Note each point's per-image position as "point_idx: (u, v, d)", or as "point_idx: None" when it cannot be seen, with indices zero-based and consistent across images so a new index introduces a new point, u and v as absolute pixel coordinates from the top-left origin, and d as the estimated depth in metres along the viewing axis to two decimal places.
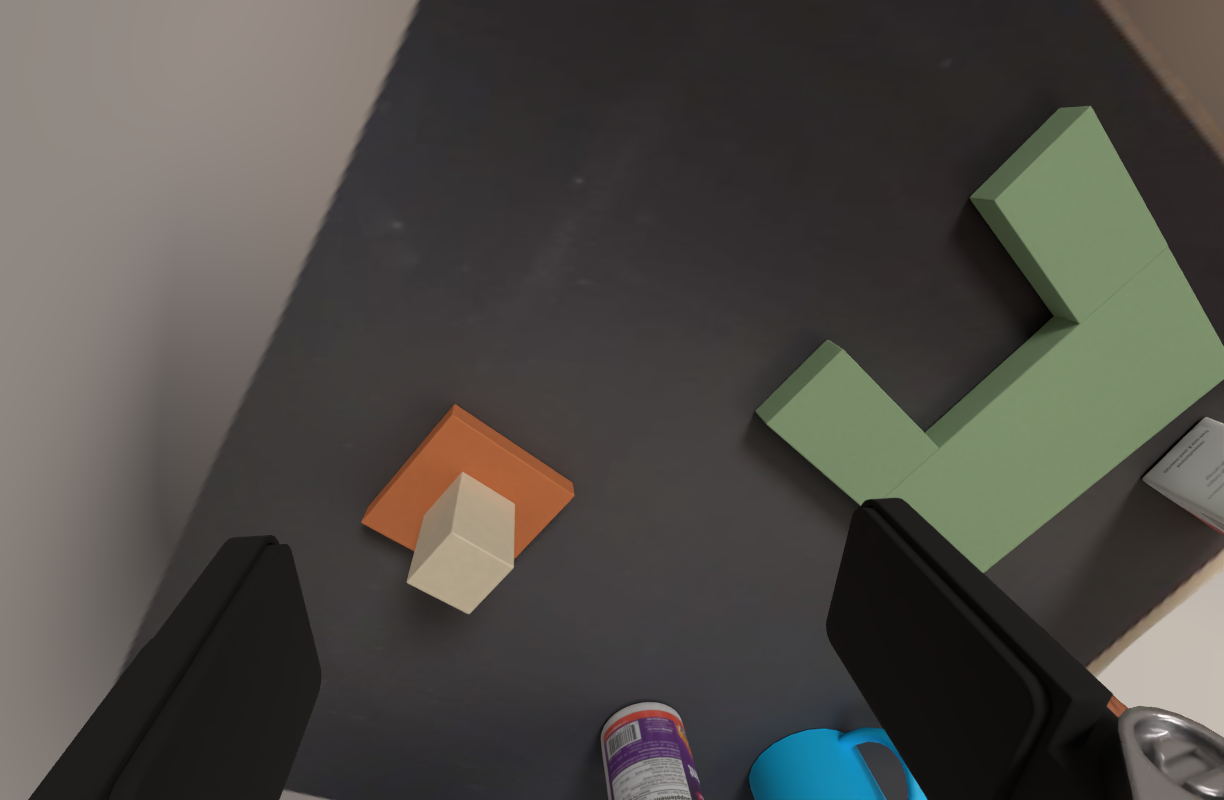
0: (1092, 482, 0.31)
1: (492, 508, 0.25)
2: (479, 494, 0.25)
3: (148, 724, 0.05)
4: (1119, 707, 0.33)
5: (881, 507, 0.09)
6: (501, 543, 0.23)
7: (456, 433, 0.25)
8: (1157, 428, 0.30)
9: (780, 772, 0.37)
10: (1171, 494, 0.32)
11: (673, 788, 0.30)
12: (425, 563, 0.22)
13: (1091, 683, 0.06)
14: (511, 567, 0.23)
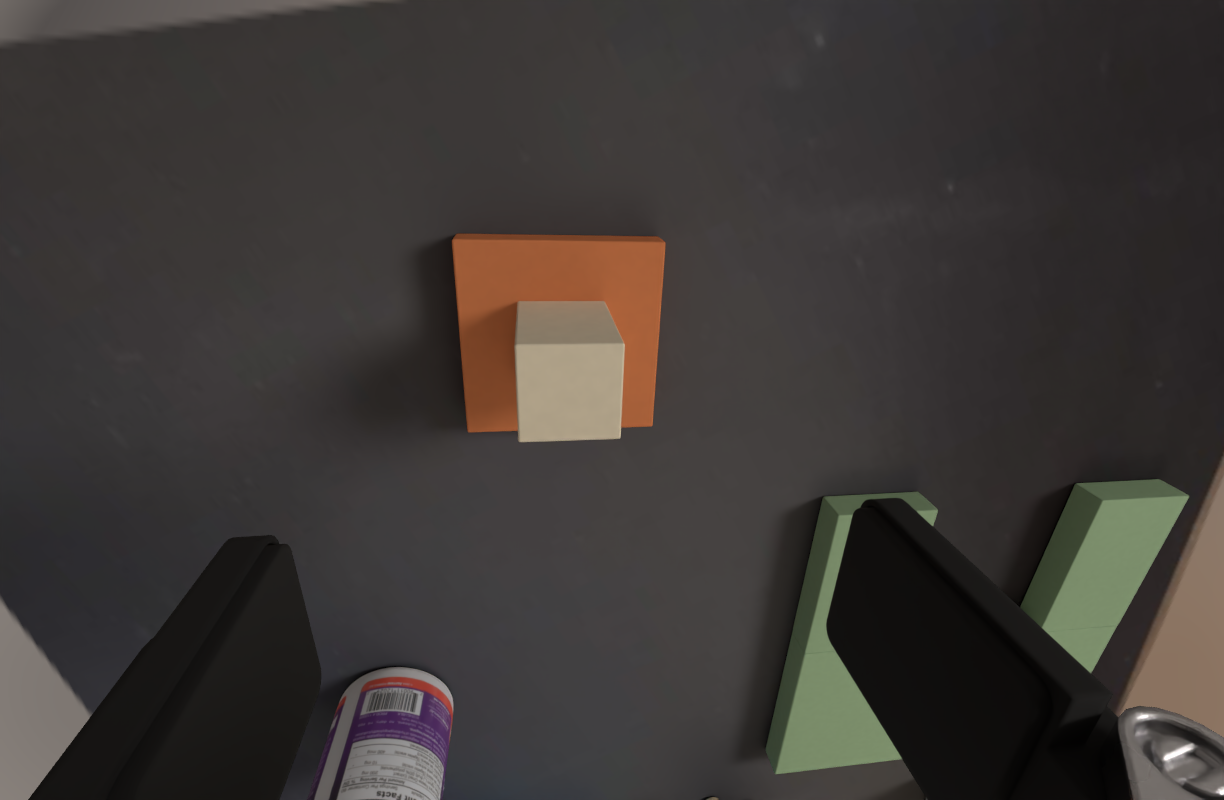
0: None
1: None
2: None
3: (148, 725, 0.05)
4: None
5: (881, 507, 0.09)
6: None
7: (646, 262, 0.19)
8: None
9: None
10: None
11: (429, 796, 0.23)
12: (559, 346, 0.15)
13: (1092, 683, 0.06)
14: (619, 436, 0.17)
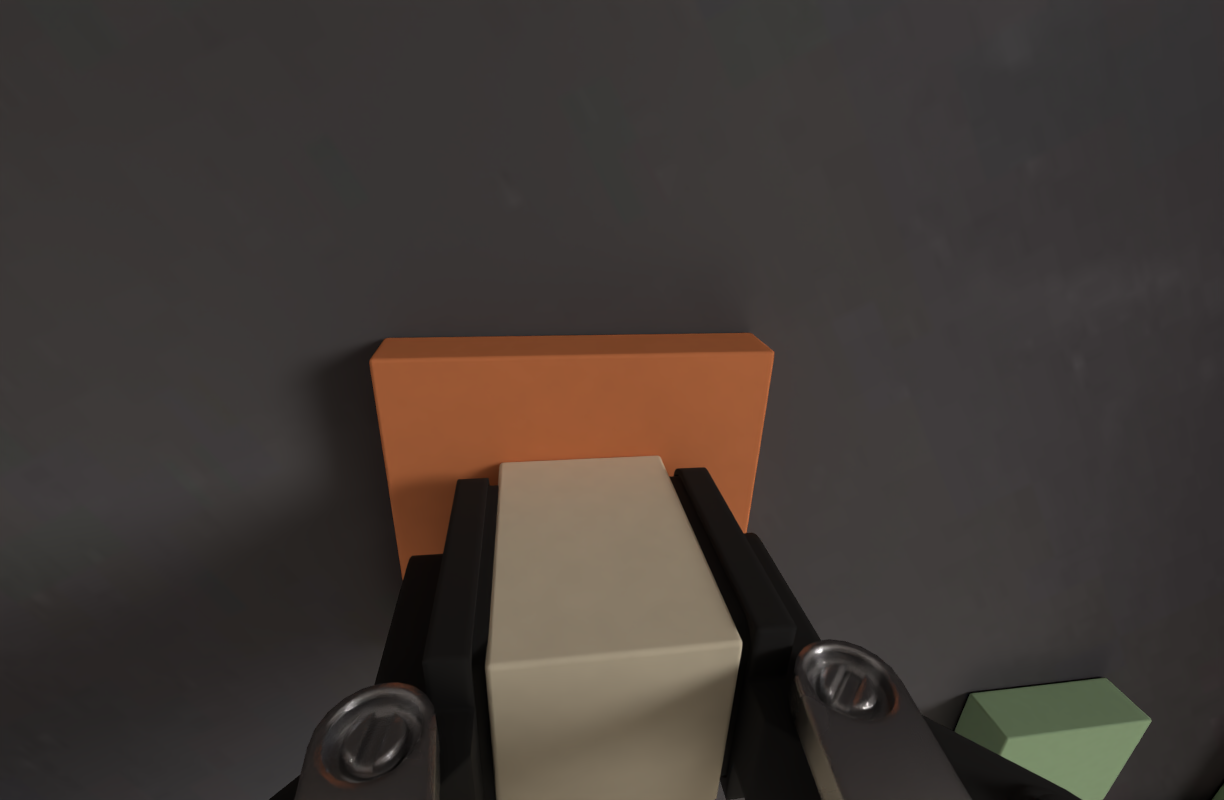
0: None
1: None
2: None
3: (475, 602, 0.07)
4: None
5: (681, 475, 0.10)
6: None
7: (738, 387, 0.10)
8: None
9: None
10: None
11: None
12: (593, 661, 0.06)
13: (785, 619, 0.07)
14: (714, 796, 0.08)
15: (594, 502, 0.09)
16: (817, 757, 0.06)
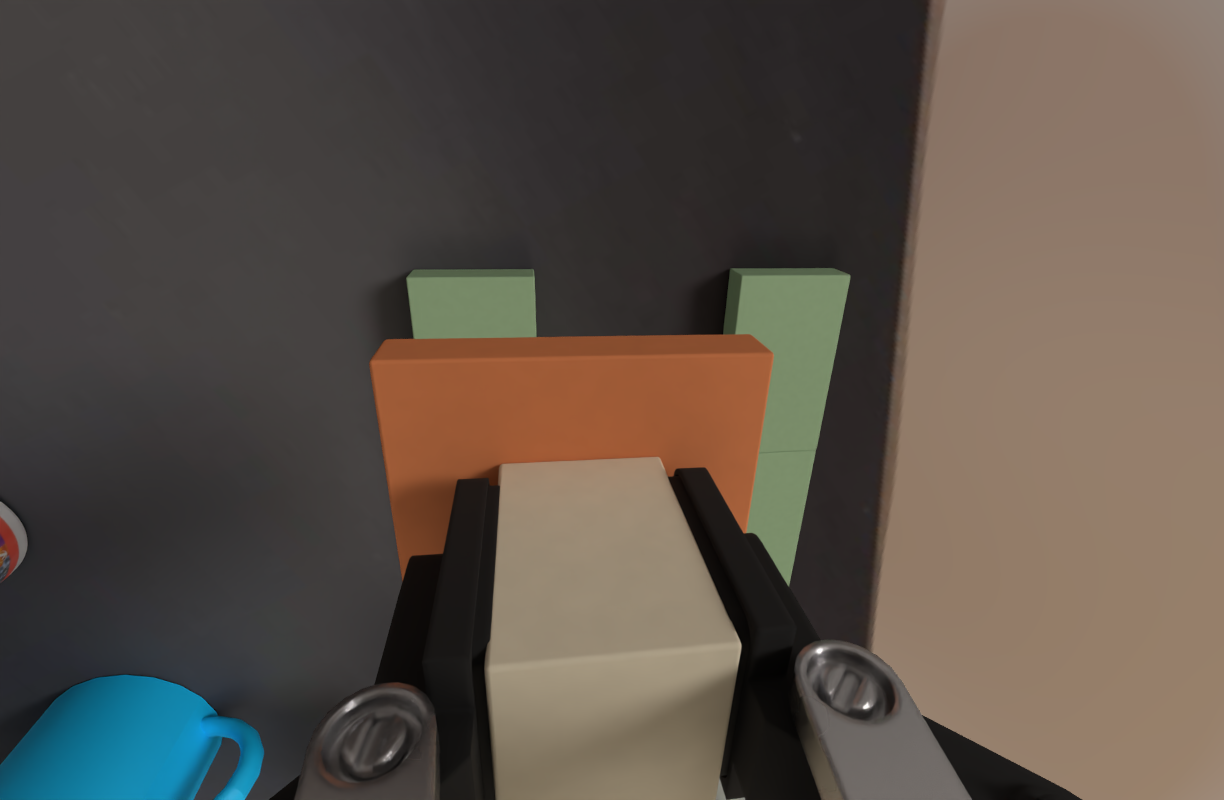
0: None
1: None
2: None
3: (476, 602, 0.07)
4: None
5: (681, 475, 0.10)
6: None
7: (737, 389, 0.10)
8: None
9: (93, 706, 0.27)
10: None
11: None
12: (592, 662, 0.06)
13: (784, 618, 0.07)
14: (713, 798, 0.08)
15: (594, 503, 0.09)
16: (817, 757, 0.06)
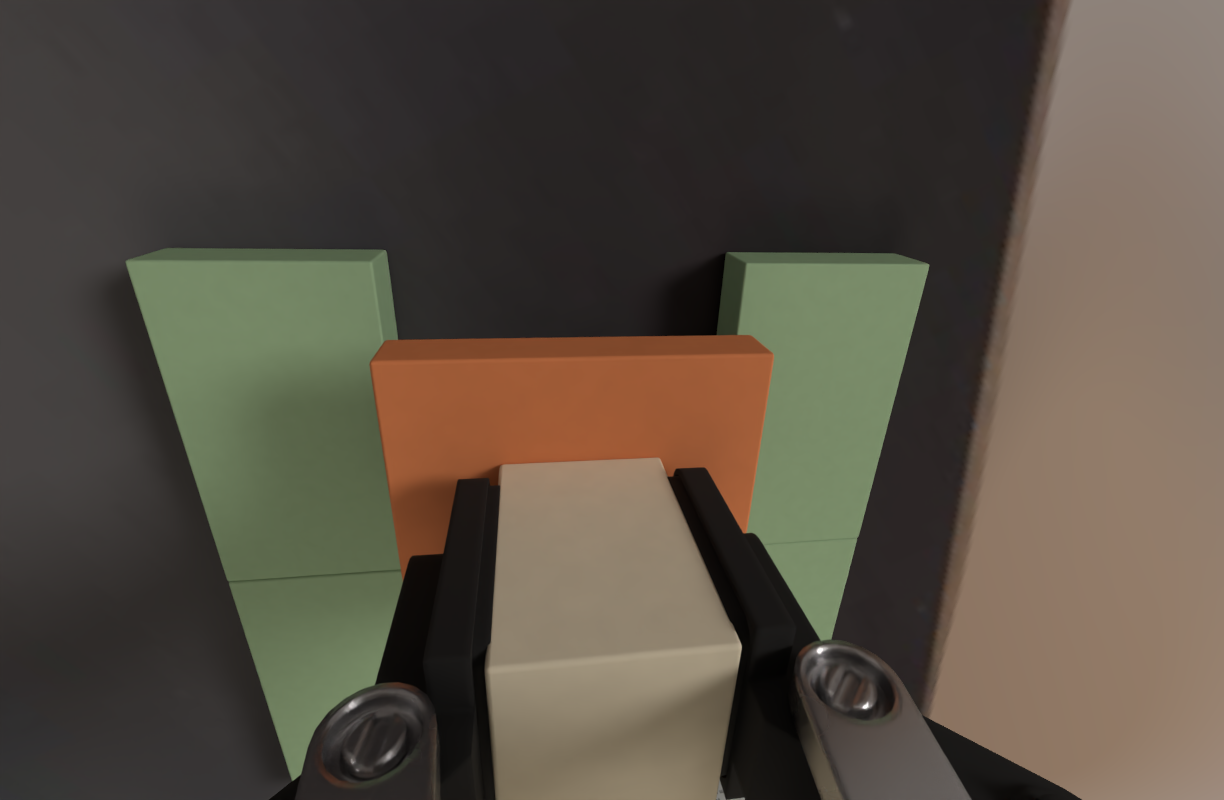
0: None
1: None
2: None
3: (476, 602, 0.07)
4: None
5: (681, 475, 0.10)
6: None
7: (738, 390, 0.10)
8: None
9: None
10: None
11: None
12: (592, 664, 0.06)
13: (783, 618, 0.07)
14: (714, 799, 0.08)
15: (594, 504, 0.09)
16: (817, 757, 0.06)
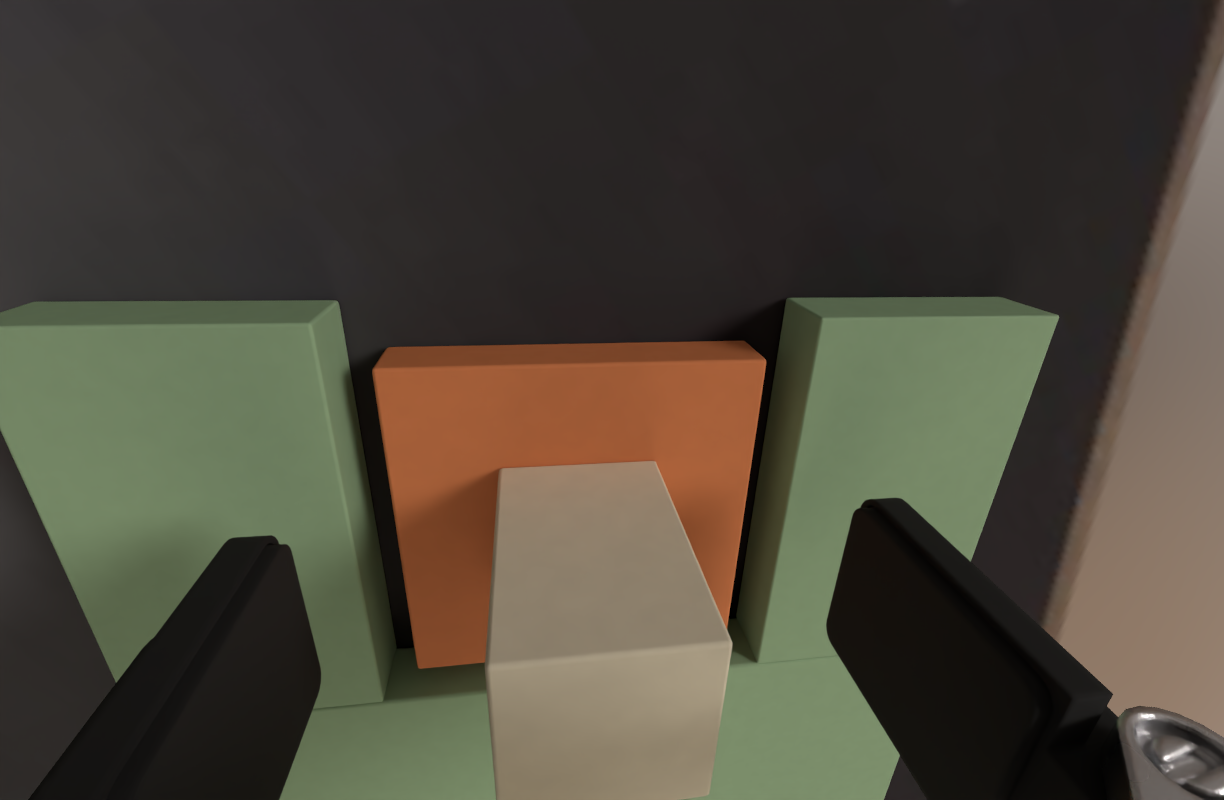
0: None
1: None
2: None
3: (148, 724, 0.05)
4: None
5: (881, 507, 0.09)
6: None
7: (731, 394, 0.11)
8: None
9: None
10: None
11: None
12: (588, 661, 0.07)
13: (1092, 682, 0.06)
14: (707, 792, 0.08)
15: (591, 507, 0.09)
16: None
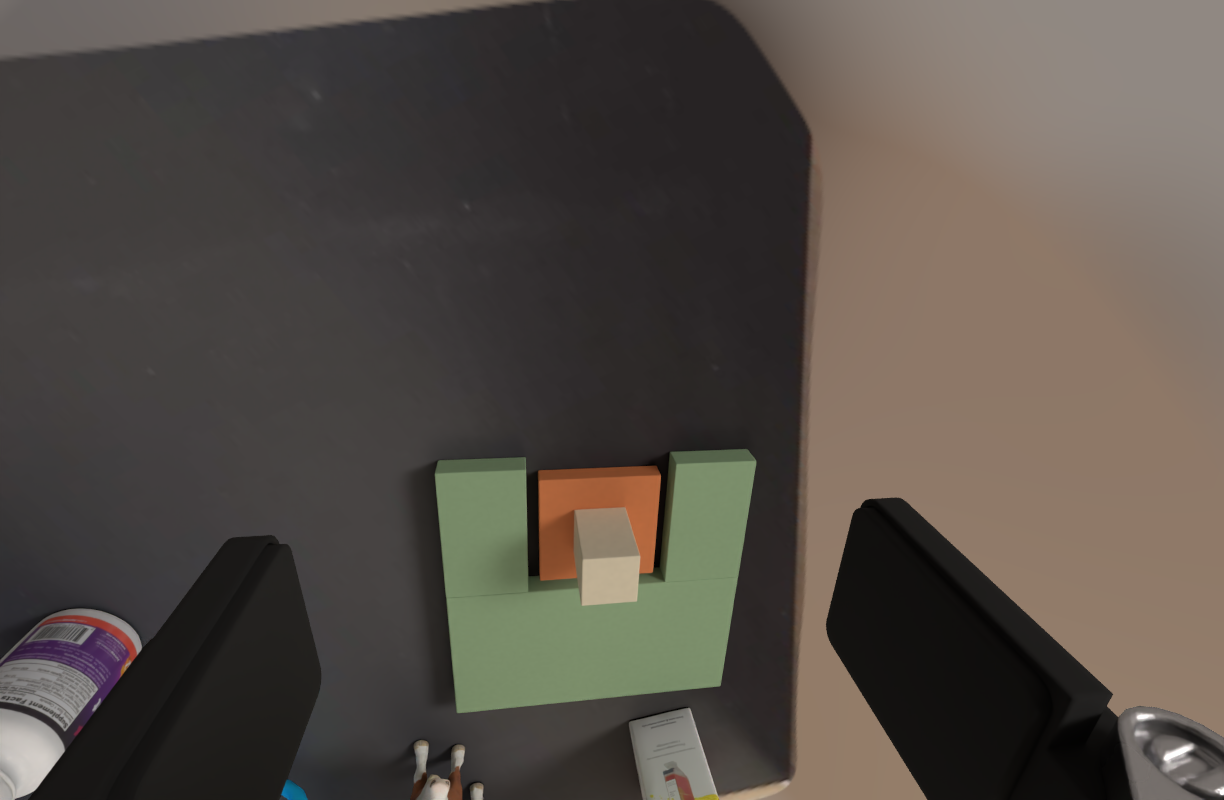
0: (597, 697, 0.38)
1: None
2: None
3: (147, 724, 0.05)
4: None
5: (881, 507, 0.09)
6: None
7: (649, 486, 0.33)
8: (657, 689, 0.39)
9: None
10: (633, 743, 0.40)
11: (61, 705, 0.27)
12: (605, 559, 0.29)
13: (1092, 683, 0.06)
14: (636, 600, 0.30)
15: (604, 522, 0.31)
16: None
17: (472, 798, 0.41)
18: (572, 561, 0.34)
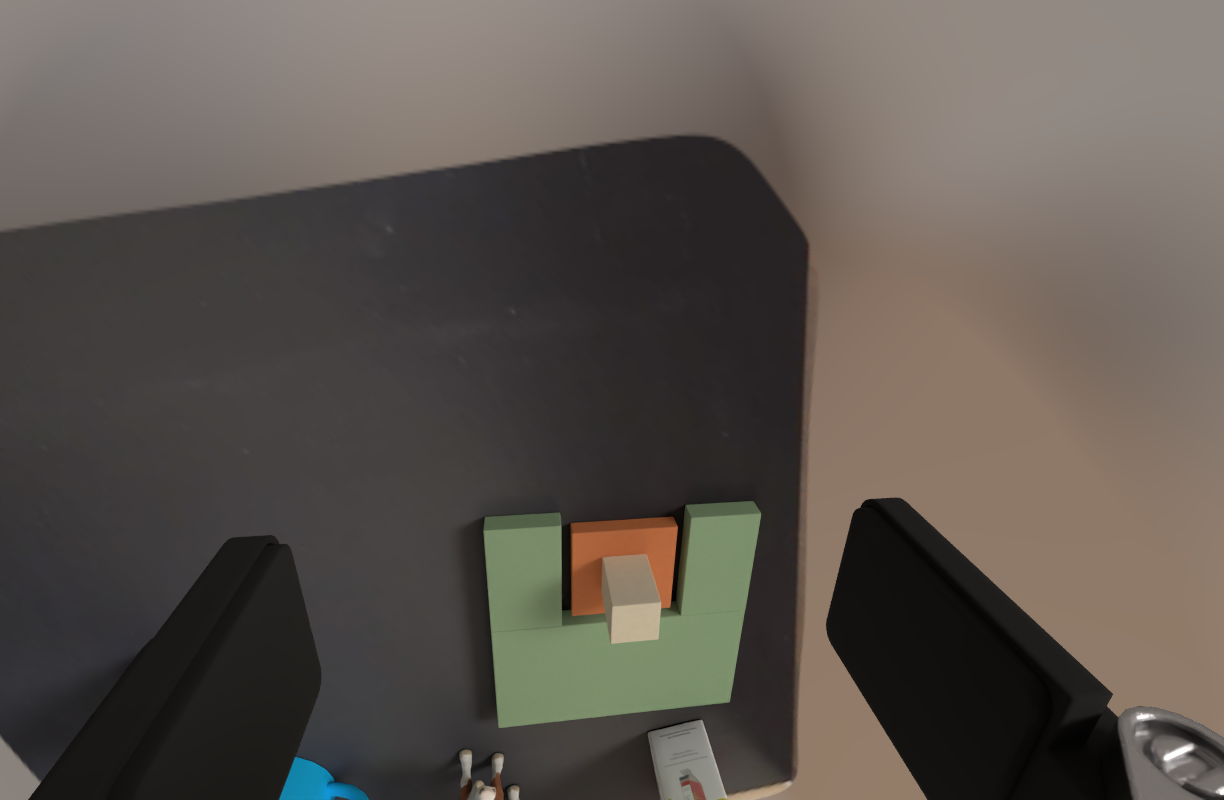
0: (621, 712, 0.43)
1: None
2: None
3: (148, 724, 0.05)
4: None
5: (881, 507, 0.09)
6: None
7: (668, 535, 0.37)
8: (673, 705, 0.44)
9: None
10: (652, 752, 0.45)
11: None
12: (632, 605, 0.33)
13: (1092, 683, 0.06)
14: (657, 638, 0.35)
15: (629, 569, 0.36)
16: None
17: (510, 799, 0.47)
18: (600, 599, 0.39)
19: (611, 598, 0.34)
